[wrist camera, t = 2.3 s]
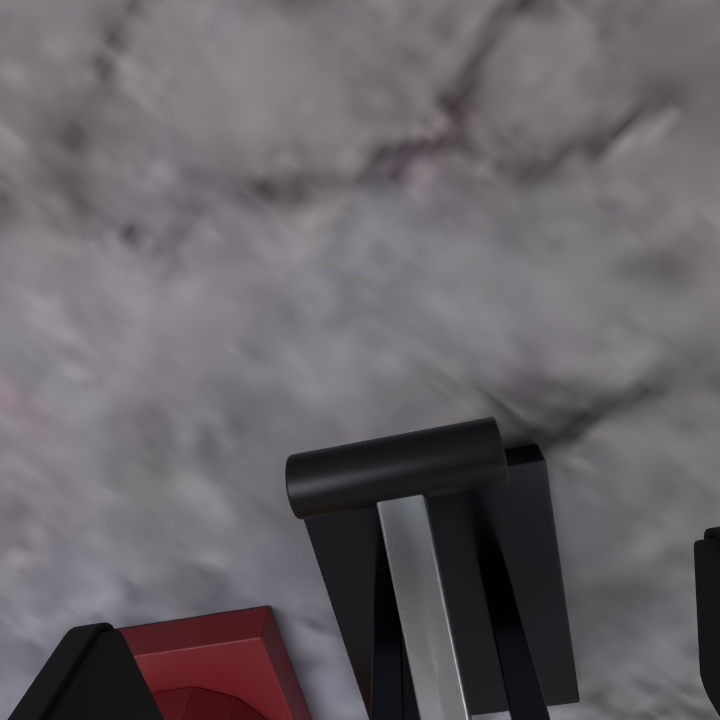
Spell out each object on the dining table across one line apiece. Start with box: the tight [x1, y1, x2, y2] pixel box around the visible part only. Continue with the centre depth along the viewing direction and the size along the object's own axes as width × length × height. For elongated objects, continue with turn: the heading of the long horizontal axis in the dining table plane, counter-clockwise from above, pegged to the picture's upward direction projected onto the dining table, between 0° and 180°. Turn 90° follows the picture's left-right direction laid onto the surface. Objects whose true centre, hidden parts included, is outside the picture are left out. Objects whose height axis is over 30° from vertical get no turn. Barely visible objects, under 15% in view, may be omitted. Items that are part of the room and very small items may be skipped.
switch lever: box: [285, 417, 509, 720], centre depth 13 cm, size 13×5×2 cm, turn 14°
